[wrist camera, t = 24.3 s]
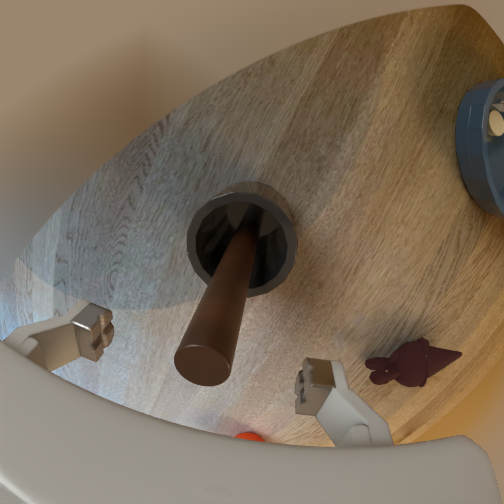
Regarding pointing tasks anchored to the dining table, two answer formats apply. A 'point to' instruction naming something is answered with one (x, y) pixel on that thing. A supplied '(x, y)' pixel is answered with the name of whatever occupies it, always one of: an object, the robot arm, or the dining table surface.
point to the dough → (495, 123)
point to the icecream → (411, 363)
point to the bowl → (482, 146)
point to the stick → (219, 313)
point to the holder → (225, 224)
